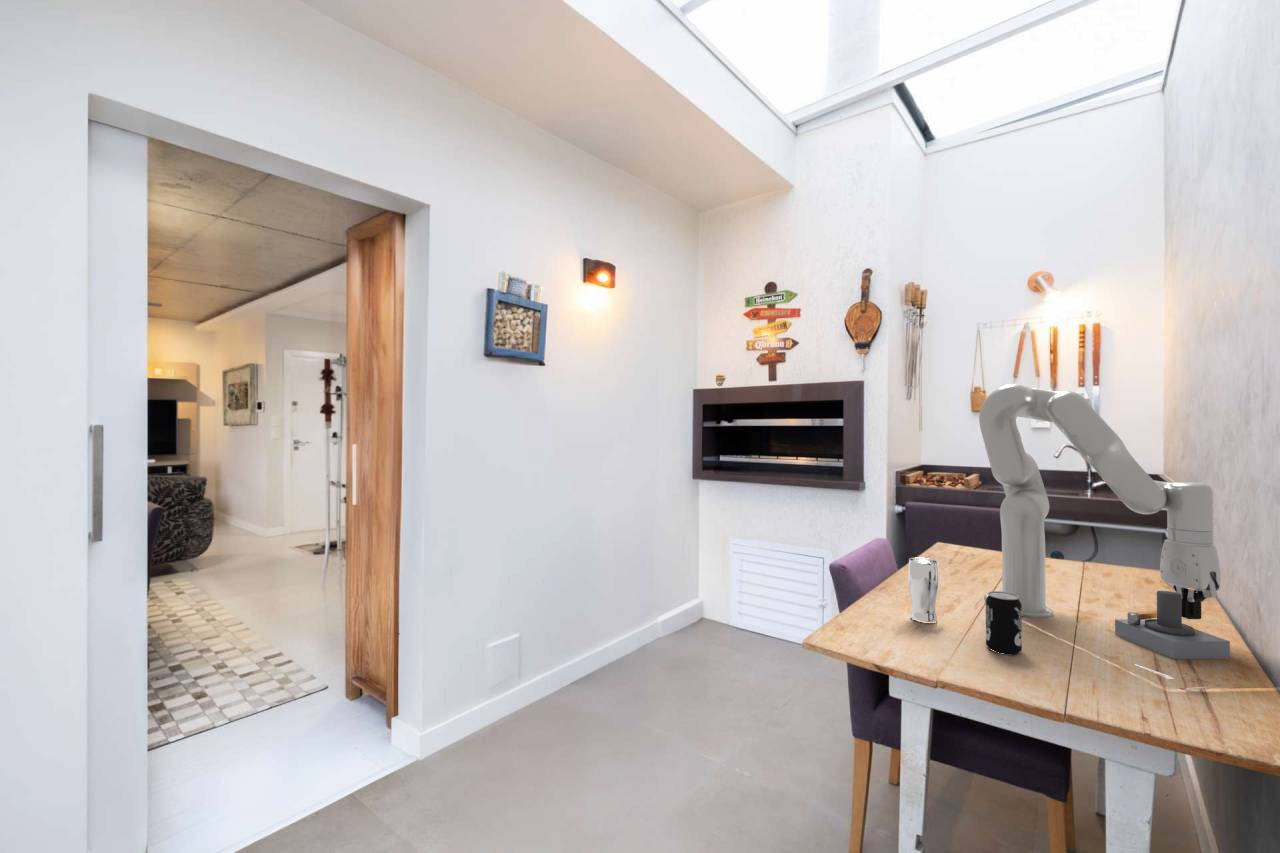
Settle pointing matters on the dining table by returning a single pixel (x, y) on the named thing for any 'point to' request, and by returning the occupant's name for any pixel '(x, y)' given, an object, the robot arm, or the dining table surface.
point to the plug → (1169, 615)
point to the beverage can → (1004, 622)
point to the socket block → (1174, 642)
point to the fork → (1169, 678)
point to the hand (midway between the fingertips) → (1191, 617)
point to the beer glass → (923, 588)
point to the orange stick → (1140, 616)
